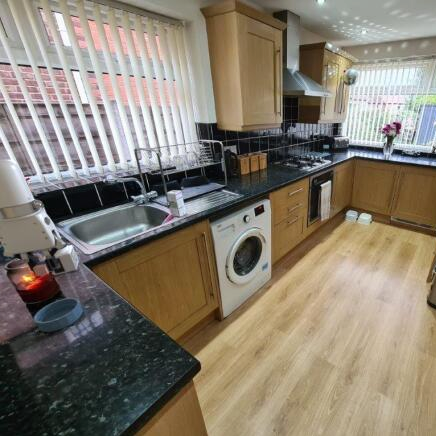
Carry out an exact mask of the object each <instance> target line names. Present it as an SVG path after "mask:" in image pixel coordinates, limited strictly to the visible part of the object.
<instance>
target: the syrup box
mask: <svg viewBox="0 0 436 436" xmlns="http://www.w3.org/2000/svg"><path fill="white" fill-rule="evenodd" d="M166 195H167V199H168V204H169V208H170V213H171V216H172V217H179V218H180V217H182V216H184V215H185V214H186V208H185V202H184V197H183V193H182V190H177V189H176V190H175V189H173V190H170V191H168V192H166ZM183 213H184V214H183Z"/></svg>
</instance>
